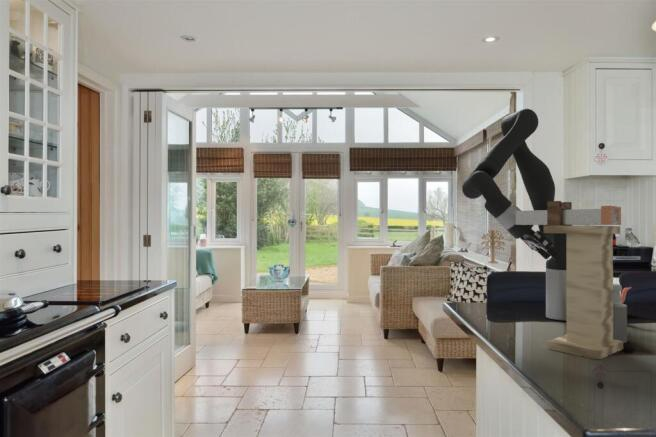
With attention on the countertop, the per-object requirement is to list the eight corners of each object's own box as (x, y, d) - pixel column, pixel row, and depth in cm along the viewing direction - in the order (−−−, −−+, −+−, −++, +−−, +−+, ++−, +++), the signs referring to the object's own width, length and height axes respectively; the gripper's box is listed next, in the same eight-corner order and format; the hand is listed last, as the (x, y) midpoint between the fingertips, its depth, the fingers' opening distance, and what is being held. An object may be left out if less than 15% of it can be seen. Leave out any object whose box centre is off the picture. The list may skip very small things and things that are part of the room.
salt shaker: (628, 324, 143) (627, 285, 143) (608, 323, 144) (608, 284, 145) (619, 321, 149) (619, 283, 149) (601, 320, 150) (601, 282, 150)
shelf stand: (566, 338, 124) (566, 203, 125) (623, 349, 113) (622, 201, 114) (539, 346, 114) (540, 200, 115) (598, 359, 103) (598, 198, 104)
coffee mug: (632, 344, 118) (632, 307, 118) (591, 341, 121) (591, 305, 121) (615, 333, 131) (615, 300, 131) (578, 330, 134) (578, 298, 134)
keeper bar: (525, 224, 130) (525, 209, 130) (621, 225, 111) (621, 206, 111) (512, 224, 126) (512, 208, 126) (610, 224, 106) (610, 205, 106)
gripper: (530, 210, 132) (571, 249, 129) (516, 214, 146) (554, 249, 143) (511, 227, 132) (552, 266, 129) (500, 230, 146) (537, 265, 144)
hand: (553, 257), depth 136 cm, fingers open, 8 cm apart
